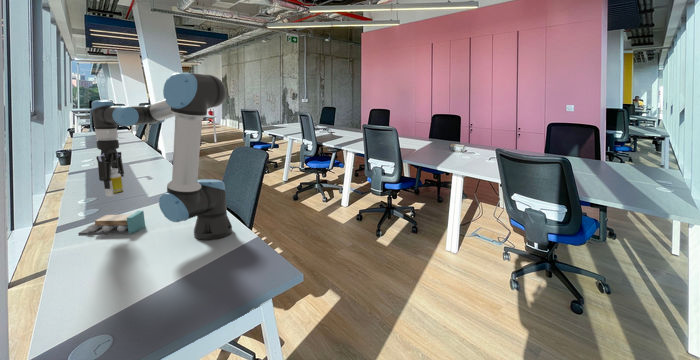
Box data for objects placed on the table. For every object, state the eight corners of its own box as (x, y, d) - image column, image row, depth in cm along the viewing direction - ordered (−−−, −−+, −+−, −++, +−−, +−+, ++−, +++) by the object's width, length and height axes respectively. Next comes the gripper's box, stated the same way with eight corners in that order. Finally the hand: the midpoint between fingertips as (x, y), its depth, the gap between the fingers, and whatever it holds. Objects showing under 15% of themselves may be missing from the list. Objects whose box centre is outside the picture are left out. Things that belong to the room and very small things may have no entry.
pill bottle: (126, 192, 155) (123, 167, 153) (118, 196, 149) (114, 170, 147) (112, 192, 155) (108, 167, 153) (102, 196, 149) (99, 170, 147)
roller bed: (145, 225, 161) (143, 210, 160) (133, 233, 151) (131, 217, 150) (93, 226, 159) (91, 211, 158) (78, 234, 150) (75, 218, 148)
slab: (137, 218, 159) (136, 214, 159) (127, 224, 151) (127, 220, 151) (106, 219, 158) (106, 214, 158) (95, 225, 150) (94, 220, 150)
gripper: (111, 136, 156) (118, 188, 161) (82, 141, 138) (90, 200, 143) (129, 136, 157) (135, 188, 162) (102, 141, 138) (110, 200, 143)
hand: (114, 193), depth 152 cm, fingers closed on pill bottle, 6 cm apart
